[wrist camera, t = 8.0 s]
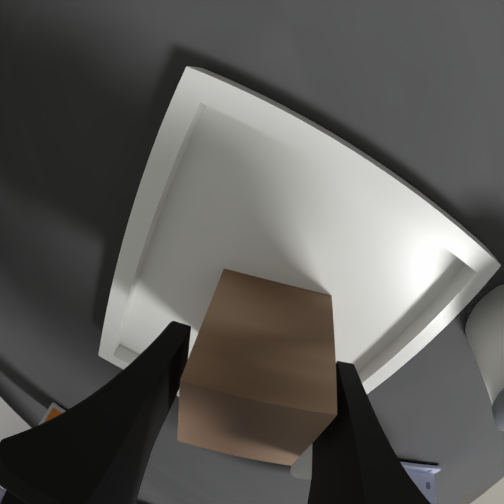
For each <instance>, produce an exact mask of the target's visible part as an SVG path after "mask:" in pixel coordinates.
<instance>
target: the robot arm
mask: <svg viewBox="0 0 504 504" xmlns="http://www.w3.org/2000/svg"><path fill="white" fill-rule="evenodd" d="M190 332H191V326H189V325H186V324H183V323H179V322H176V321H172V322H170V323H169V324H168V326H167V327H166V328H165V329H164V330H163V331H162V332H161V334H160V335H159V336H158V337H157V338H156V339H155V340H154V341H153V342H152V343H151V344H150V345H149V346H148V347H147V348H146V349H145V350H144V351H143V352H142V353H141V354H140V355H139V356H138V357H137V358H136V359H135V360H134V361H133V362H132V363H131V364H129V365H128V366H127V367H126V368H125V369H124V370H123V371H121V372H120V373H119V374H118V375H117V376H115V377H114V378H113V379H112V380H111V381H109V382H108V383H107V384H106V385H104V386H103V387H102V388H100V389H99V390H98V391H96V392H95V393H93V394H92V395H91V396H89V397H88V398H86V399H85V400H83V401H82V402H80V403H78V404H77V405H75V406H74V407H72V408H70V409H69V410H67V411H65V412H64V413H62V414H60V415H58V416H56V417H54V418H52V419H50V420H48V421H46V422H44V423H42V424H40V425H38V426H36V427H34V428H31V429H29V430H26V431H24V432H21V433H19V434H16V435H13V436H11V437H8V438H5V439H3V440H1V442H0V485H1V486H2V487H3V488H4V489H6V491H4V490H3V489H2V488H0V504H135V503H136V500H137V496H138V493H139V489H140V486H141V483H142V479H143V476H144V473H145V469H146V466H147V463H148V460H149V457H150V454H151V451H152V448H153V446H154V443H155V441H156V438H157V436H158V434H159V432H160V430H161V427H162V425H163V423H164V421H165V419H166V416H167V414H168V412H169V410H170V408H171V406H172V403H173V401H174V399H175V397H176V395H177V392H178V390H179V388H180V379H181V377H182V374H183V371H184V369H185V366H186V364H187V361H188V353H189V342H190ZM336 382H337V416H336V417H335V418H334V419H333V420H332V422H331V423H330V424H329V425H328V426H327V427H326V428H325V430H324V431H323V432H322V433H321V434H320V435H319V436H318V437H317V439H316V440H315V441H314V442H313V443H312V476H311V486H310V492H309V498H308V504H437V499H436V489H435V480H434V473H436V472H438V471H440V470H441V468H440V466H435V465H425V464H416V463H408V462H401V461H399V459H398V458H397V456H396V454H395V452H394V451H393V449H392V447H391V445H390V443H389V441H388V439H387V437H386V436H385V434H384V432H383V430H382V427H381V425H380V423H379V421H378V419H377V417H376V415H375V412H374V410H373V408H372V406H371V403H370V401H369V399H368V396H367V394H366V392H365V389H364V387H363V385H362V382H361V380H360V377H359V375H358V372H357V370H356V368H355V366H354V364H352V363H346V362H341V361H337V362H336Z"/></svg>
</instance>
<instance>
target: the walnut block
mask: <svg viewBox="0 0 504 504" xmlns="http://www.w3.org/2000/svg"><path fill="white" fill-rule="evenodd" d="M336 416H337V382H336V357H335V338H334V322H333V308H332V295H328V294H323V293H319V292H315V291H311V290H307V289H303V288H299V287H295V286H291V285H287V284H283V283H279V282H275V281H271V280H267V279H263V278H259V277H255V276H251V275H248V274H244V273H240V272H236V271H232V270H228V269H224V270H223V272H222V275H221V277H220V280H219V282H218V285H217V287H216V290H215V292H214V295H213V297H212V300H211V302H210V305H209V307H208V310H207V312H206V315H205V317H204V320H203V322H202V325H201V328H200V330H199V333H198V335H197V338H196V340H195V343H194V345H193V348H192V351H191V353H190V356H189V358H188V361H187V364H186V366H185V369H184V371H183V374H182V377H181V379H180V390H179V411H178V438H177V441H181V442H184V443H187V444H191V445H194V446H198V447H202V448H205V449H209V450H213V451H217V452H221V453H225V454H230V455H234V456H239V457H244V458H248V459H254V460H259V461H264V462H270V463H276V464H283V465H290V466H291V465H292V464H293V463H294V462H295V461H296V460H297V459H298V458H299V457H300V456H301V455H302V454H303V452H304V451H305V450H306V449H307V448H308V447H309V446H310V445H311V444H312V443H313V442H314V441H315V440H316V439H317V437H318V436H319V435H320V434H321V433H322V432H323V431H324V430H325V428H326V427H327V426H328V425H329V424H330V423H331V422H332V420H333V419H334V418H335V417H336Z"/></svg>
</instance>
